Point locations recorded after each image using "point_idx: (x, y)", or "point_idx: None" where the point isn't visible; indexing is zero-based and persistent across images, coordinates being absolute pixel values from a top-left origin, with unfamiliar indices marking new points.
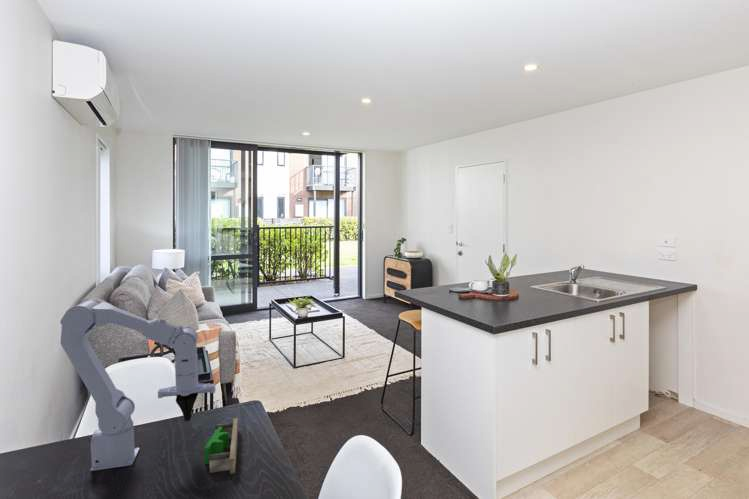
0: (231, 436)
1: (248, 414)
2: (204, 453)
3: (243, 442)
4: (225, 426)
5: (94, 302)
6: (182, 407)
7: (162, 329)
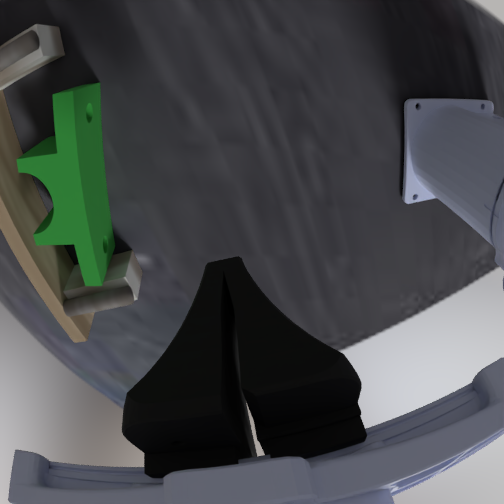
0: (78, 268)
1: (109, 375)
2: (82, 87)
3: None
4: (88, 296)
5: None
6: (267, 325)
7: None
